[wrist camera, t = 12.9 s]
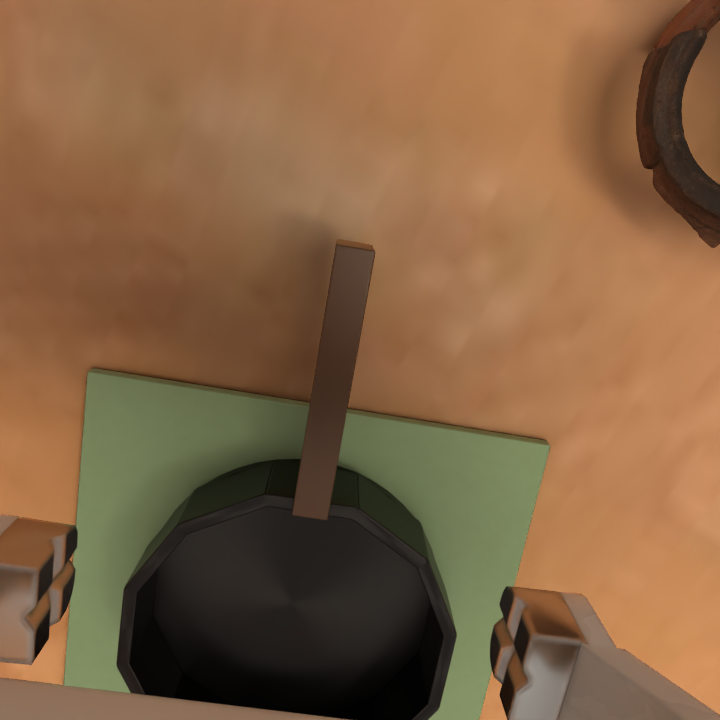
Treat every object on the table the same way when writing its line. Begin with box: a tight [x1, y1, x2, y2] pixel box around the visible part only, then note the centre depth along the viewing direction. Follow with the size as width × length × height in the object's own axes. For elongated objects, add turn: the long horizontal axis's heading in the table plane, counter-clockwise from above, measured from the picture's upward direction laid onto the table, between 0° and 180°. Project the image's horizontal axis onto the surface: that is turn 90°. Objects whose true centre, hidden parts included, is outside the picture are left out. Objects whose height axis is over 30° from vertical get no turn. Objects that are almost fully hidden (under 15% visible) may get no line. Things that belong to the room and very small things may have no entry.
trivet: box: [64, 368, 550, 720], centre depth 28 cm, size 18×16×1 cm
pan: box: [116, 239, 457, 720], centre depth 24 cm, size 12×21×4 cm, turn 170°
